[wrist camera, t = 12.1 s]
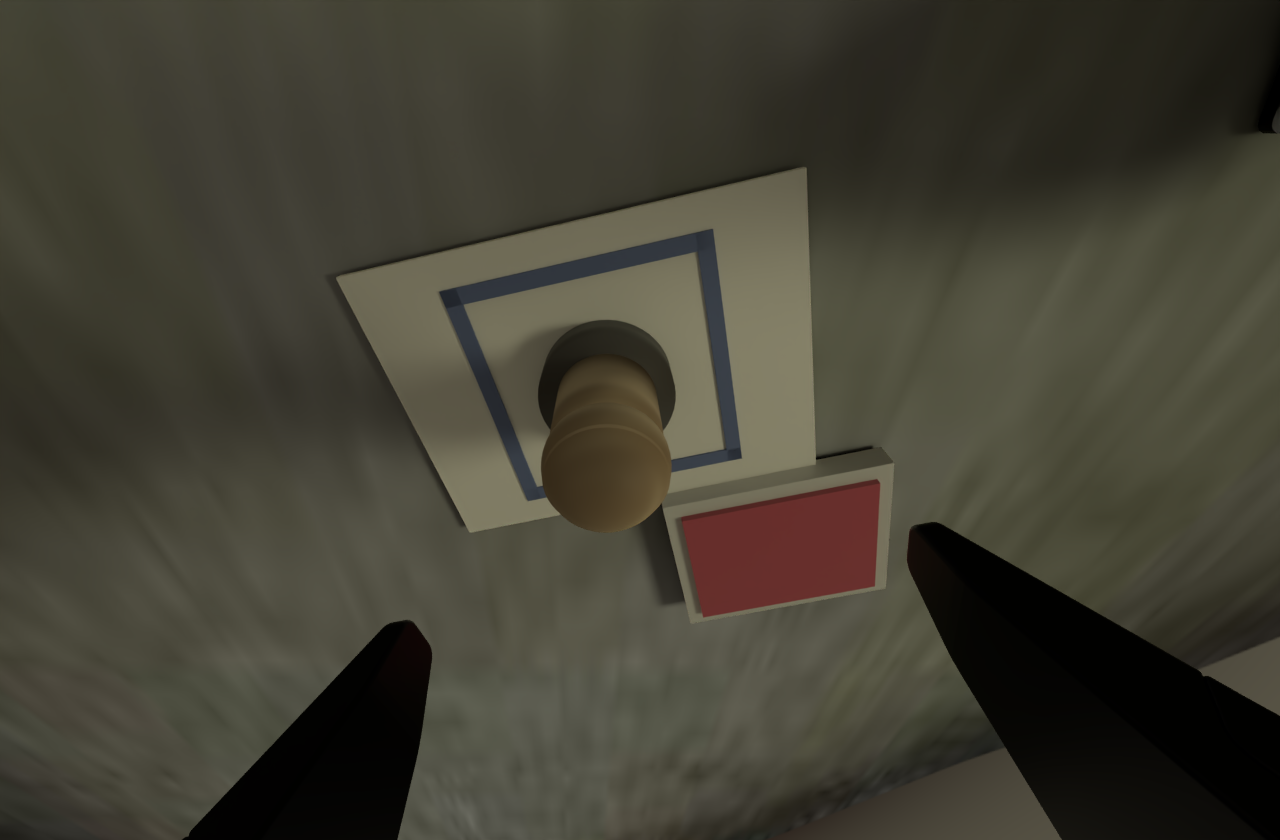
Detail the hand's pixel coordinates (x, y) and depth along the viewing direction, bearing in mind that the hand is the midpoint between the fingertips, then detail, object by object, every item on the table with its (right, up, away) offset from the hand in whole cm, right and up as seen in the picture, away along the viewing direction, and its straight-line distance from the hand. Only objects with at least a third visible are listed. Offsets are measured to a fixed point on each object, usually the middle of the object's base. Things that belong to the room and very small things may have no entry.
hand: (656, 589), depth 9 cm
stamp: (-2, +5, +10) cm, 12 cm away
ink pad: (+6, -3, +16) cm, 17 cm away
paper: (-2, +5, +11) cm, 12 cm away
